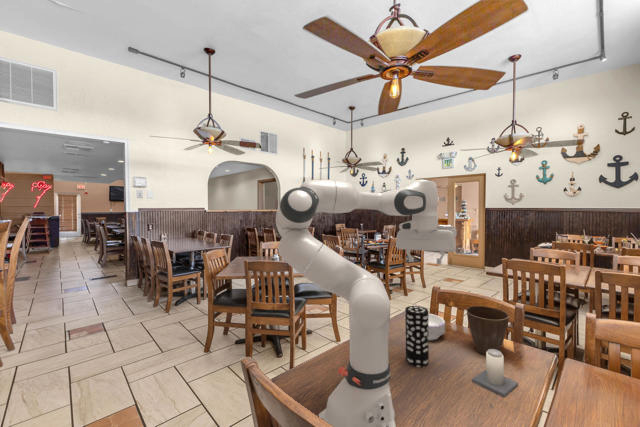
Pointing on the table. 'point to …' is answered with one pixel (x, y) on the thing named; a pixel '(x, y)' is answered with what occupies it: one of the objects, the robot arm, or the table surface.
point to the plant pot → (487, 327)
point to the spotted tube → (417, 336)
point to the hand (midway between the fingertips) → (425, 262)
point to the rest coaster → (497, 389)
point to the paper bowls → (435, 326)
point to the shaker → (495, 367)
